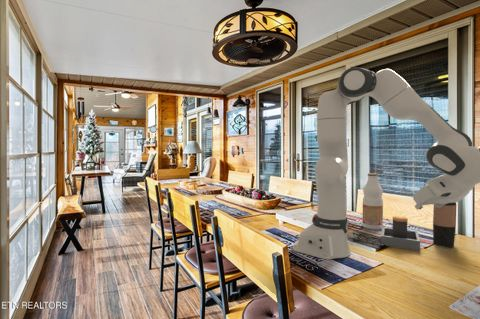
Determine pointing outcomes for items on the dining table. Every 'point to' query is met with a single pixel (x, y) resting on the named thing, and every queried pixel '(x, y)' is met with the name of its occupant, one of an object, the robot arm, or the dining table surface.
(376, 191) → the fruit juice
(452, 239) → the travel mug
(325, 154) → the robot arm
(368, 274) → the dining table surface
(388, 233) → the open square box
